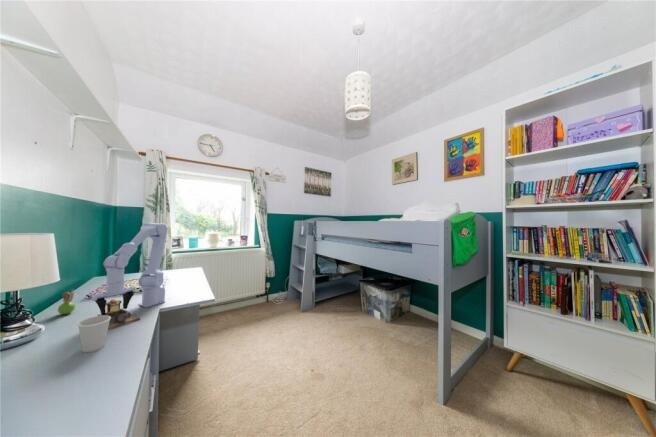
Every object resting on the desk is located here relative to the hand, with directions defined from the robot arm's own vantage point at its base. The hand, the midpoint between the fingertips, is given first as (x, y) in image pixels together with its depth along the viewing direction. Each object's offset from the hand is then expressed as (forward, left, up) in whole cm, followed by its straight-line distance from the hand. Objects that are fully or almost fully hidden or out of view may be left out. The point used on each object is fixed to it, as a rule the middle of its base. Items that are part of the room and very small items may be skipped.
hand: (114, 311), depth 102 cm
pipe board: (0, +1, -4) cm, 4 cm away
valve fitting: (0, -1, -3) cm, 3 cm away
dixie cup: (+13, +21, -4) cm, 25 cm away
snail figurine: (+8, -26, -4) cm, 28 cm away
